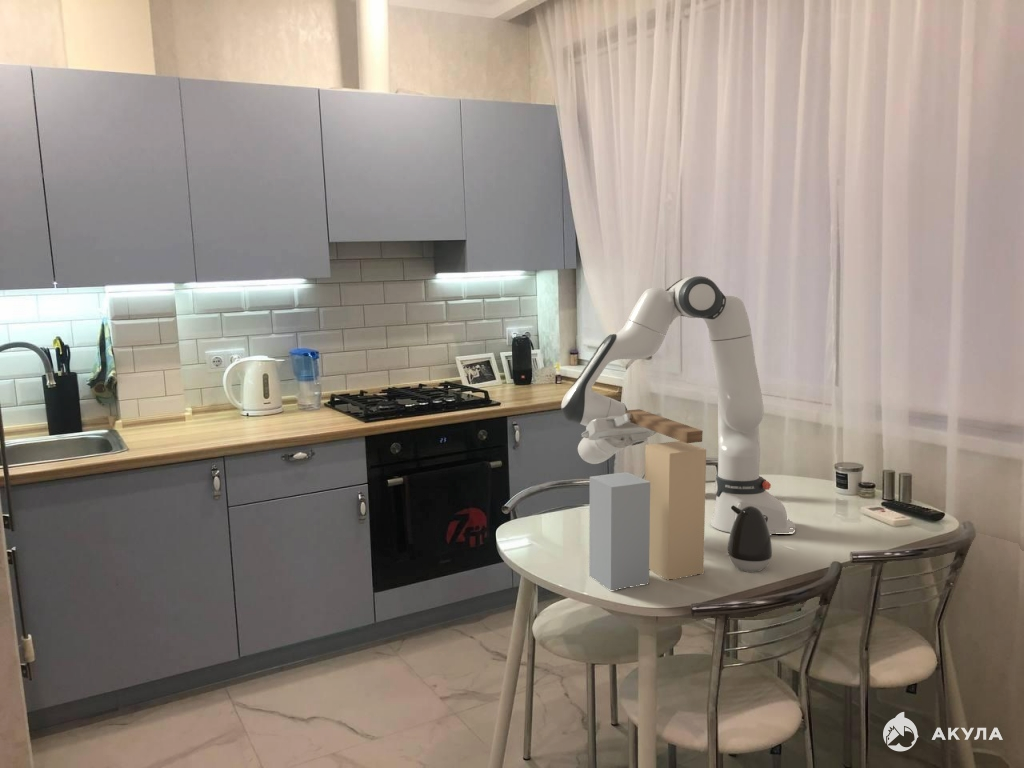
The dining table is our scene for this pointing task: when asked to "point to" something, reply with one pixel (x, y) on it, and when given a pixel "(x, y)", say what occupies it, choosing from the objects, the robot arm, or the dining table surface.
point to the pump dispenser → (749, 540)
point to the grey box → (619, 530)
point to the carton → (676, 508)
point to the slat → (666, 426)
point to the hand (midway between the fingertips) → (639, 415)
